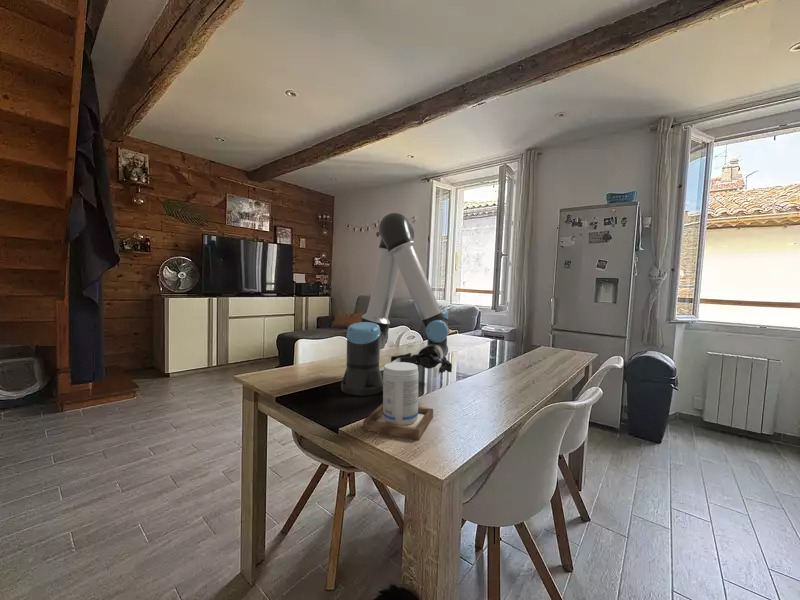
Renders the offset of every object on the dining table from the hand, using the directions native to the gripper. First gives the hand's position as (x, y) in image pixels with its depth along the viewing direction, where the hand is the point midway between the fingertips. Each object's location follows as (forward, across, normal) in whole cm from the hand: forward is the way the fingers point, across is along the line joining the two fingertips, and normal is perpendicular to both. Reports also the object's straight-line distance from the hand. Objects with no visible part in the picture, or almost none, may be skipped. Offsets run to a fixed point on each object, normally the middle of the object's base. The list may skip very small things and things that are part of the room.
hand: (413, 369), depth 99 cm
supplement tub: (+10, 0, -12) cm, 15 cm away
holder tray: (+10, 0, -12) cm, 16 cm away
